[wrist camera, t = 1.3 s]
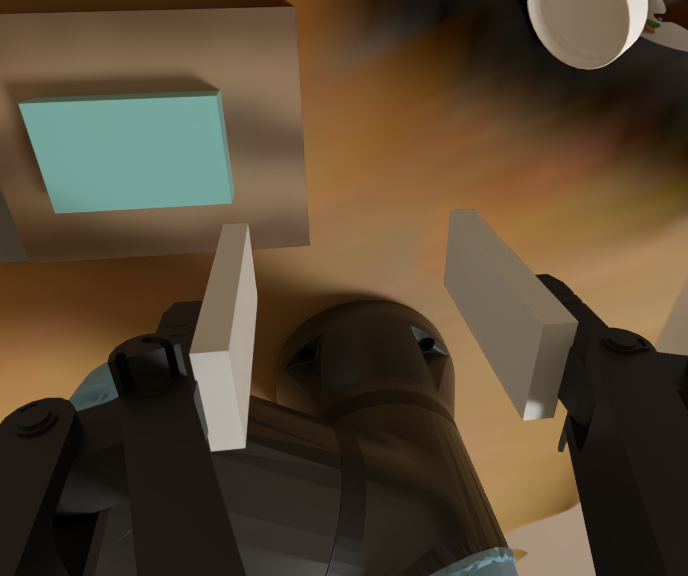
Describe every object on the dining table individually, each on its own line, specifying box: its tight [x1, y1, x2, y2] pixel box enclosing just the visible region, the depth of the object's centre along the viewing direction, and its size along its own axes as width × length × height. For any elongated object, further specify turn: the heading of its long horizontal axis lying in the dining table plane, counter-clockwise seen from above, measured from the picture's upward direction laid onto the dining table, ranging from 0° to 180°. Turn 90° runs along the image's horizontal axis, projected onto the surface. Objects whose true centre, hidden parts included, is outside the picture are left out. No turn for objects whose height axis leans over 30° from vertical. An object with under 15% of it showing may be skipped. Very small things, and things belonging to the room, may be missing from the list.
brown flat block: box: [0, 6, 310, 264], centre depth 30 cm, size 14×18×3 cm
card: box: [19, 90, 234, 214], centre depth 28 cm, size 6×10×2 cm, turn 91°
